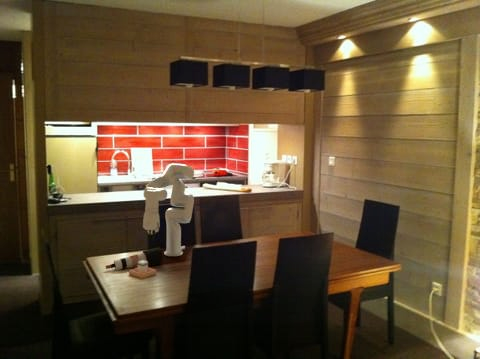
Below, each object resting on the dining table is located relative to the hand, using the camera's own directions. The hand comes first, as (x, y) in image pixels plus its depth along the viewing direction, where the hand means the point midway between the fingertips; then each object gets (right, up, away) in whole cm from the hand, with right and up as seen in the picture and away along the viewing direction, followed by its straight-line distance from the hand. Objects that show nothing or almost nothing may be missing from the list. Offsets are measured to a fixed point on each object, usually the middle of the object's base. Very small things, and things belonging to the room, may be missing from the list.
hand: (151, 240), depth 271 cm
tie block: (-4, -18, -7) cm, 20 cm away
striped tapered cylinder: (-12, -18, +5) cm, 22 cm away
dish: (-4, -19, -7) cm, 21 cm away
